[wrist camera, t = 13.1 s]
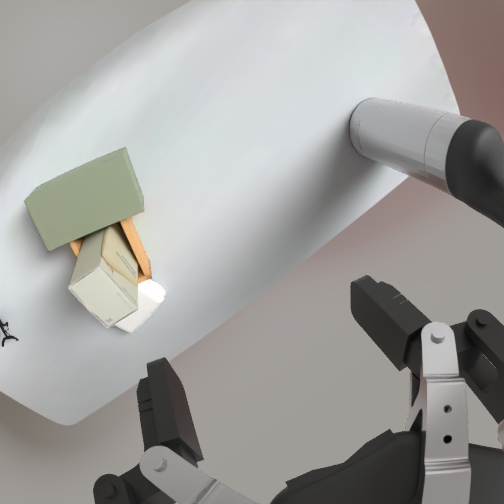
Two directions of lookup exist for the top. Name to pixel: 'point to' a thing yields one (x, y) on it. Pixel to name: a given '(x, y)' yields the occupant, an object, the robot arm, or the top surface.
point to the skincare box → (106, 275)
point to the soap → (143, 305)
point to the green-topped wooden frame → (90, 205)
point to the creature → (5, 333)
